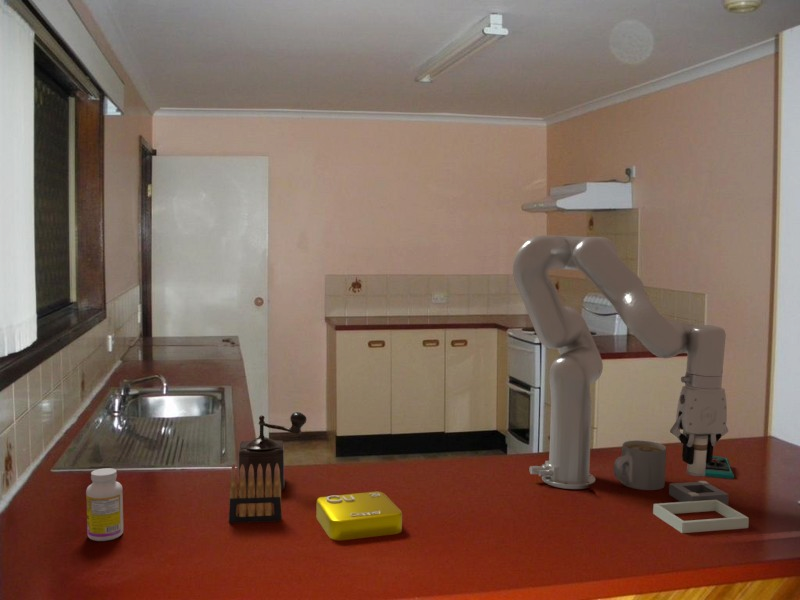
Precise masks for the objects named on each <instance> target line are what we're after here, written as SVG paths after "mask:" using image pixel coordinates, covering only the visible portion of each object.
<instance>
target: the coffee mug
mask: <svg viewBox="0 0 800 600" xmlns="http://www.w3.org/2000/svg"><path fill="white" fill-rule="evenodd" d="M666 461H667V447H666V445H664V444H662V443H659V442H655V441H648V440H639V439H638V440H636V439H635V440H628V441H624V442H623V443H622V447H621V456H618V457H617V458H616V459H615V461H614V464H613V474H614V477H615V478H616V479H617V480H618V481H620V483H621V484H623V485H624V486H626V487H628V488H632V489H635V490H641V491H656V490H661V489H663V488H665V485H666V484H665V483H666V466H667V465H666V463H667V462H666Z"/></svg>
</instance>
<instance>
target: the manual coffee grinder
mask: <svg viewBox="0 0 800 600" xmlns="http://www.w3.org/2000/svg"><path fill="white" fill-rule="evenodd" d="M258 419H259V420H258V425H259V436H258V437H256V438H254V439H251V440H242V441H240V444H239V449H238V478H239V477H240V468H241V465H242V464H243V465H244V468H245V478H246V486H247V484H248V473H249V467H250V465H251V464H252V465H253V469H254V479H255V493H256V482H257V470H258V466H259V464H261V466H262V471H263V482H264V485H265V477H266V468H267V465H268V463H269V465H270V468H271V477H272V490H273V482H274V470H275V466H276V463H278V465H279V469H280V481H281V491H284V490H285V484H286V483H285V481H286V480H285V457H284V456H285V455H284V454H285V444H284V441H283V440H275V439H271V438H269V437H266V436H265V433H264V431H265V430H264V427H266V428H269V429H275V430H280V431H285V432H288V433H291V434H293V435H297V434H301V433H302V427H303V426H304V425H305V424H306V423H307V416H306V415H305V414H303V413H302V412H300V411H299V412H298V411H296V412H294V413H292V414H291V415H290V418H289V419H290V422H291V426H290V427H287V426H283V425H277V424H272V423H271V424H270V423H266V421H265V416H264V415H259V417H258Z"/></svg>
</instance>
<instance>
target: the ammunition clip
mask: <svg viewBox="0 0 800 600" xmlns="http://www.w3.org/2000/svg"><path fill="white" fill-rule="evenodd" d="M237 477H238V478H237ZM229 480H230V481H229V482H230V483H229V513H228V523H229V524H236V523H238V524H239V523H263V522H264V523H265V522H266V523H268V522H282V520H283V519H282V490H281V481H280V469H279V465H278V463H276V466H275V470H274V482H273V490H272V477H271V468H270V465H269V463H268V465H267V468H266V477H265V485H264V482H263V471H262V466H261V464H259V466H258V470H257V482H256V492H255V479H254V469H253V465H252V464H251V465H250V467H249V473H248V484H247V486H246V478H245V468H244V465H243V464H242V465H241V468H240V477H239V476H237V469H236V466H235V464H232V466H231V469H230V479H229Z"/></svg>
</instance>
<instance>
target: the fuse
mask: <svg viewBox="0 0 800 600" xmlns="http://www.w3.org/2000/svg"><path fill="white" fill-rule="evenodd" d="M692 447H694V459H693V464H691V465H690V464H688V463H687V466H686V474H687V475H689V476H693V477H697V478H699V477H706V476H705V468H706V456H707V447H708V434H695V436H694V440H693V444H692Z"/></svg>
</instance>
